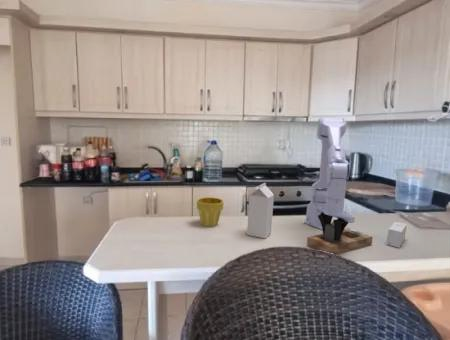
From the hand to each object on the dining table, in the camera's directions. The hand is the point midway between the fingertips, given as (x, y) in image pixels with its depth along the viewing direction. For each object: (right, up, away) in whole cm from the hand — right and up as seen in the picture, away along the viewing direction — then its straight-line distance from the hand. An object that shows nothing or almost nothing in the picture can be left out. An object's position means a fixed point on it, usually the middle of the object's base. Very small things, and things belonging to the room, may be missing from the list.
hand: (331, 237), depth 108 cm
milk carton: (-23, -1, +10) cm, 26 cm away
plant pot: (-42, +1, +19) cm, 46 cm away
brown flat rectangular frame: (+4, -3, +3) cm, 6 cm away
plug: (0, -2, +1) cm, 2 cm away
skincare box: (+31, 0, +14) cm, 34 cm away
